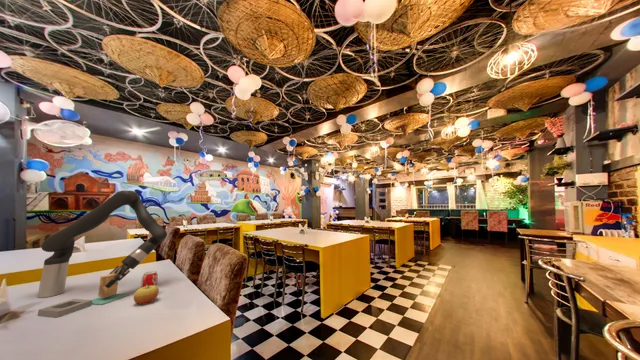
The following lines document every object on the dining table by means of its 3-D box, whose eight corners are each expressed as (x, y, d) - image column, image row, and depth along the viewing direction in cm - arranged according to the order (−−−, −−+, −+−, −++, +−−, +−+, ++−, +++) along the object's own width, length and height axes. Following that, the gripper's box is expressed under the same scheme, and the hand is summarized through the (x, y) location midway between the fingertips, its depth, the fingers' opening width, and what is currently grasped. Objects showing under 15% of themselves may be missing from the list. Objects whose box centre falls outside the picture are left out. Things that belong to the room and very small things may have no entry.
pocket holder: (37, 315, 94) (38, 309, 94) (73, 304, 105) (73, 298, 106) (57, 317, 91) (58, 311, 92) (91, 305, 103) (92, 300, 104)
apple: (152, 305, 102) (153, 288, 104) (128, 308, 100) (130, 290, 101) (161, 297, 112) (162, 281, 113) (139, 299, 109) (141, 283, 110)
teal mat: (83, 303, 105) (83, 302, 105) (110, 294, 117) (110, 293, 117) (102, 305, 103) (102, 303, 103) (128, 295, 115) (128, 294, 115)
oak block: (98, 296, 109) (100, 276, 110) (109, 292, 113) (111, 273, 115) (105, 297, 108) (108, 276, 109) (116, 293, 113) (118, 273, 114)
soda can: (149, 297, 111) (151, 274, 113) (136, 298, 112) (138, 274, 113) (159, 292, 118) (161, 270, 120) (147, 292, 118) (149, 270, 120)
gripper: (124, 253, 123) (93, 280, 112) (134, 255, 116) (102, 284, 104) (135, 260, 127) (105, 287, 115) (145, 263, 120) (115, 292, 108)
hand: (104, 286), depth 110 cm, fingers closed on oak block, 6 cm apart
